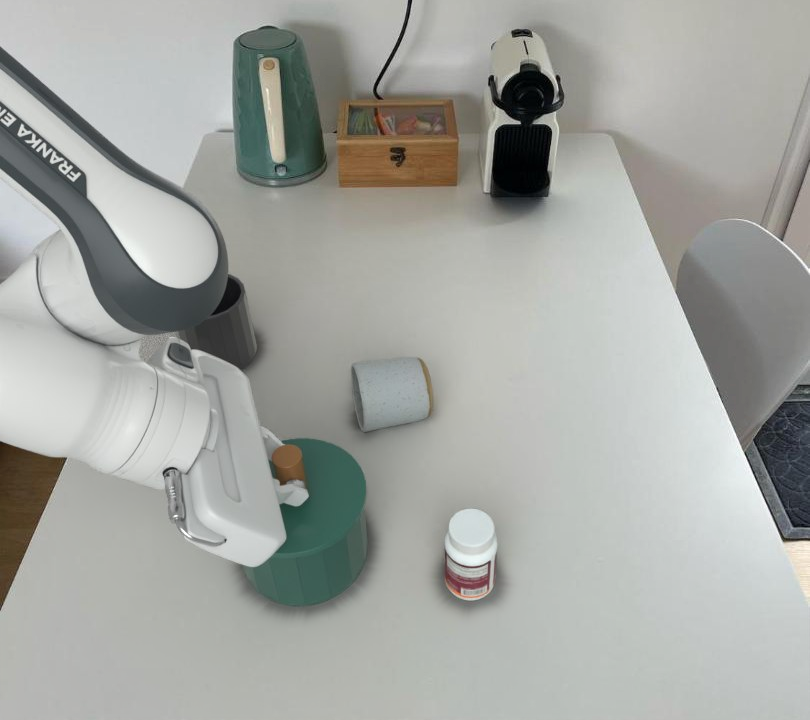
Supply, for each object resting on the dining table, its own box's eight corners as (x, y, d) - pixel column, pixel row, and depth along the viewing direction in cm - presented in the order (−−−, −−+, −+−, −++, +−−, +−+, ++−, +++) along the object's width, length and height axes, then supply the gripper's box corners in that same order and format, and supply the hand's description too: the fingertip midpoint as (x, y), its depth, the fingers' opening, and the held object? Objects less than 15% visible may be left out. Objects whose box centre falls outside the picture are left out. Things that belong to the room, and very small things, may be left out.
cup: (188, 384, 97) (170, 326, 91) (180, 337, 103) (164, 280, 97) (262, 367, 99) (250, 309, 92) (250, 322, 105) (238, 265, 99)
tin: (254, 622, 74) (238, 569, 68) (235, 519, 82) (219, 464, 76) (381, 585, 76) (376, 531, 70) (350, 488, 84) (343, 434, 79)
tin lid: (235, 580, 68) (221, 536, 63) (215, 466, 77) (201, 420, 73) (384, 539, 70) (380, 493, 66) (347, 433, 79) (342, 387, 75)
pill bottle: (461, 549, 78) (463, 495, 73) (504, 573, 76) (509, 520, 71) (434, 585, 76) (433, 532, 70) (477, 611, 74) (480, 559, 68)
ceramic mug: (437, 431, 90) (436, 380, 85) (365, 446, 88) (360, 396, 83) (412, 369, 98) (410, 319, 92) (345, 383, 96) (340, 333, 91)
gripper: (198, 507, 55) (349, 551, 63) (170, 322, 69) (297, 379, 78) (147, 562, 57) (300, 597, 65) (131, 372, 71) (258, 421, 80)
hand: (298, 477), depth 72 cm, fingers closed on tin lid, 2 cm apart
